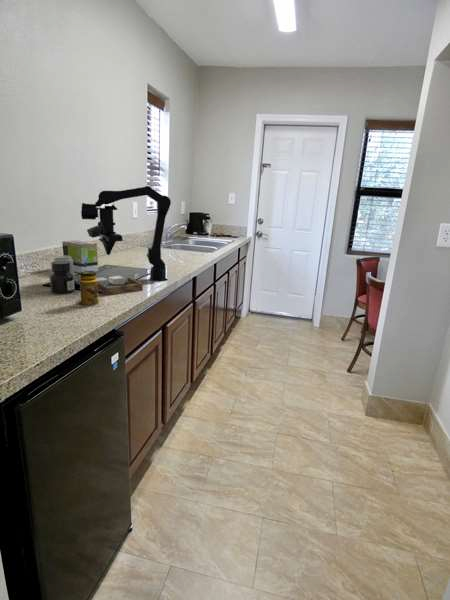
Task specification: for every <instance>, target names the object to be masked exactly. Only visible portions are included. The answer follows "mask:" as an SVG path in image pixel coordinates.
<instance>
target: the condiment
mask: <svg viewBox="0 0 450 600" xmlns="http://www.w3.org/2000/svg"><path fill="white" fill-rule="evenodd" d="M79 275H80V277H79V278H80V279H79V287H80V289H79V290H80V291H79V293H80V299H76V301H75V304H74V305H73V307H74V308H75V307H88V308H89V307H90V308H91V307H99V305H100V304H101V299H100V300H99V291H98V281H97V279H96V278H97V271H96V272H94V271H83V272H81V273H79Z"/></svg>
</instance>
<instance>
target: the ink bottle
mask: <svg viewBox="0 0 450 600" xmlns="http://www.w3.org/2000/svg"><path fill="white" fill-rule="evenodd" d="M70 269H71V268H70V262H69V261H54V260H53V261H51V272H52V273H51V274H50V275H49V285H50V292H51V293H53V294H59V295H60V294H61V295H63V294H71V293H73V292H75V288H76V287H75V274H74V275H73V274H71V272H70V271H71V270H70Z"/></svg>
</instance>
